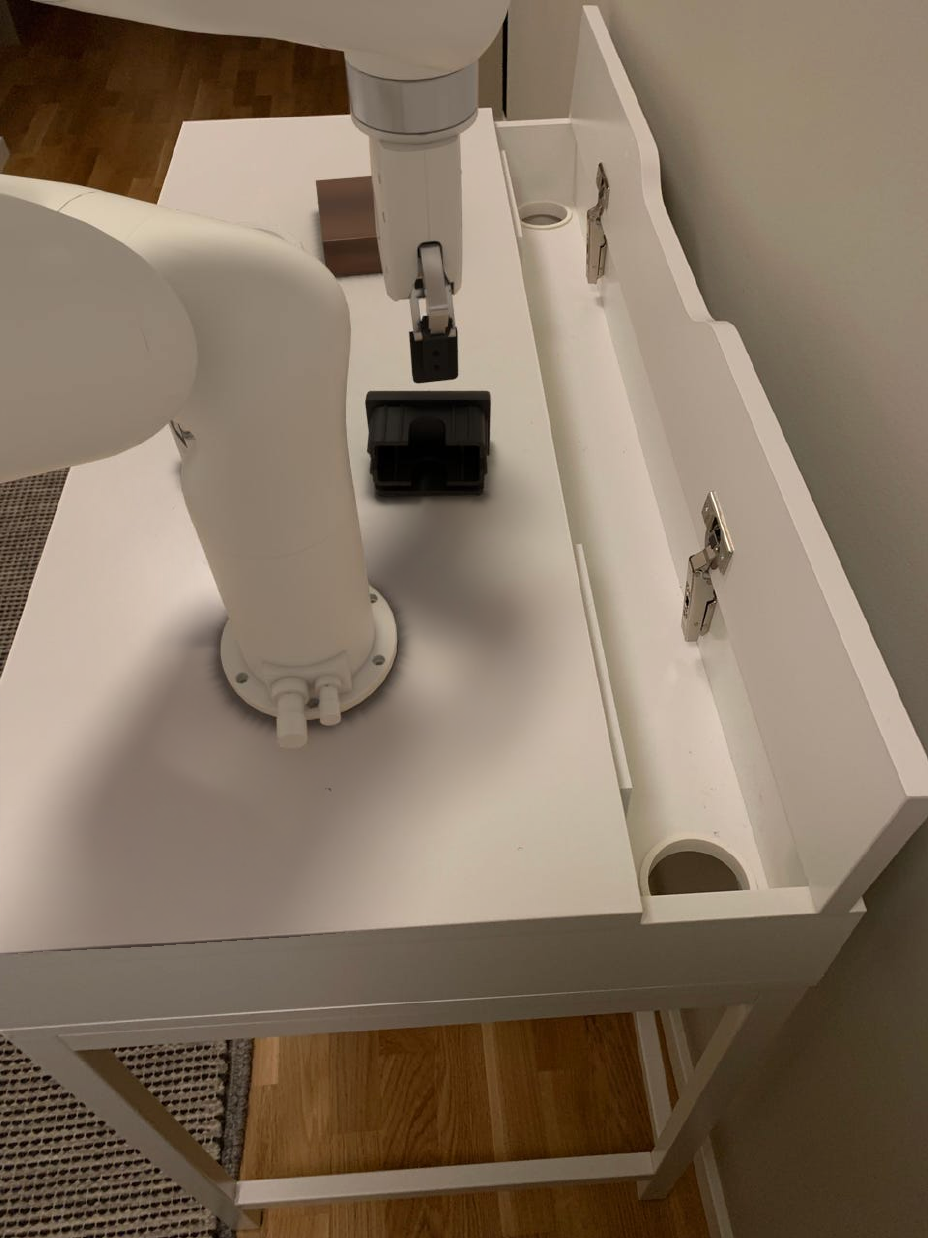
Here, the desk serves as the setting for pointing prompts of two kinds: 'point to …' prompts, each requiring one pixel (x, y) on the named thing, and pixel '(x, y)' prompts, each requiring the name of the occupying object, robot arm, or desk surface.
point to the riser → (348, 225)
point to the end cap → (428, 442)
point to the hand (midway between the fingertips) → (426, 335)
